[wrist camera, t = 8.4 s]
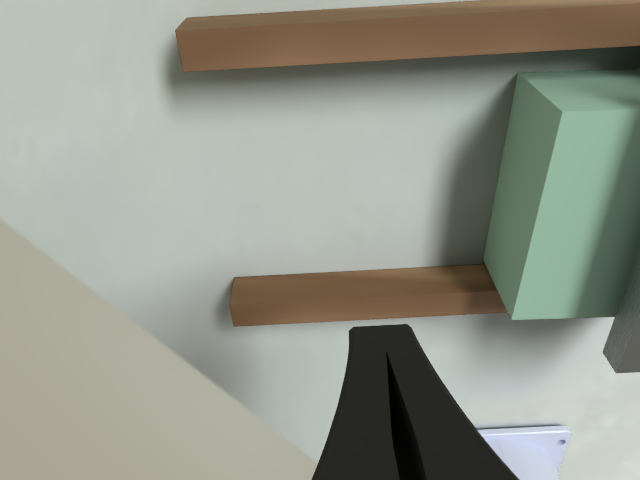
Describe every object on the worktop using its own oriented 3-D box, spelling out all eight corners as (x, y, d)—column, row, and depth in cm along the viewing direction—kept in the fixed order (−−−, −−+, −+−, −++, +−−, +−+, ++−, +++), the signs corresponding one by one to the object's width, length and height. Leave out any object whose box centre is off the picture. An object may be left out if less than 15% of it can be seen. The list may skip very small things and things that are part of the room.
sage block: (596, 253, 23) (646, 315, 19) (481, 256, 23) (511, 320, 19) (659, 66, 18) (738, 106, 15) (516, 70, 18) (562, 111, 15)
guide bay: (641, 278, 23) (725, 376, 18) (238, 300, 23) (221, 402, 19) (753, -19, 16) (930, 17, 12) (186, 14, 17) (139, 63, 12)
